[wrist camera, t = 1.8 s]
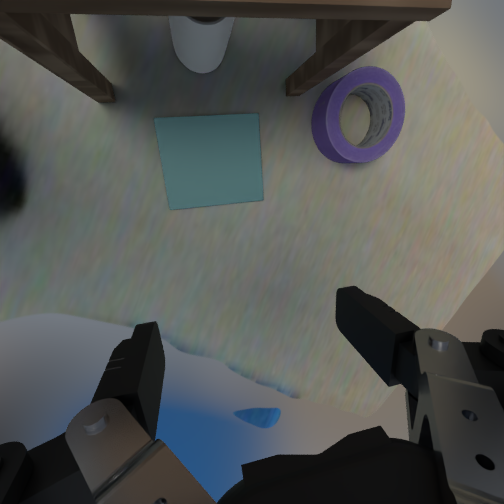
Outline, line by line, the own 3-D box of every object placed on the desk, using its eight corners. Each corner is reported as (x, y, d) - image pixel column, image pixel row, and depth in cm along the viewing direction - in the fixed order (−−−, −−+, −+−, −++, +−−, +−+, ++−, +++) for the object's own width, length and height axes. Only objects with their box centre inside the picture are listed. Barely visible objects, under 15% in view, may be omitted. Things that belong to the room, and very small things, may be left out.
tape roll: (298, 144, 39) (312, 141, 35) (331, 61, 37) (352, 46, 32) (359, 174, 43) (379, 175, 38) (394, 100, 40) (420, 92, 36)
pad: (262, 199, 41) (263, 200, 40) (170, 209, 38) (169, 210, 38) (257, 113, 37) (258, 113, 36) (153, 118, 34) (153, 117, 34)
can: (220, 11, 32) (235, -70, 21) (228, 72, 34) (245, 28, 23) (166, 13, 31) (152, -71, 20) (178, 76, 33) (171, 32, 22)
